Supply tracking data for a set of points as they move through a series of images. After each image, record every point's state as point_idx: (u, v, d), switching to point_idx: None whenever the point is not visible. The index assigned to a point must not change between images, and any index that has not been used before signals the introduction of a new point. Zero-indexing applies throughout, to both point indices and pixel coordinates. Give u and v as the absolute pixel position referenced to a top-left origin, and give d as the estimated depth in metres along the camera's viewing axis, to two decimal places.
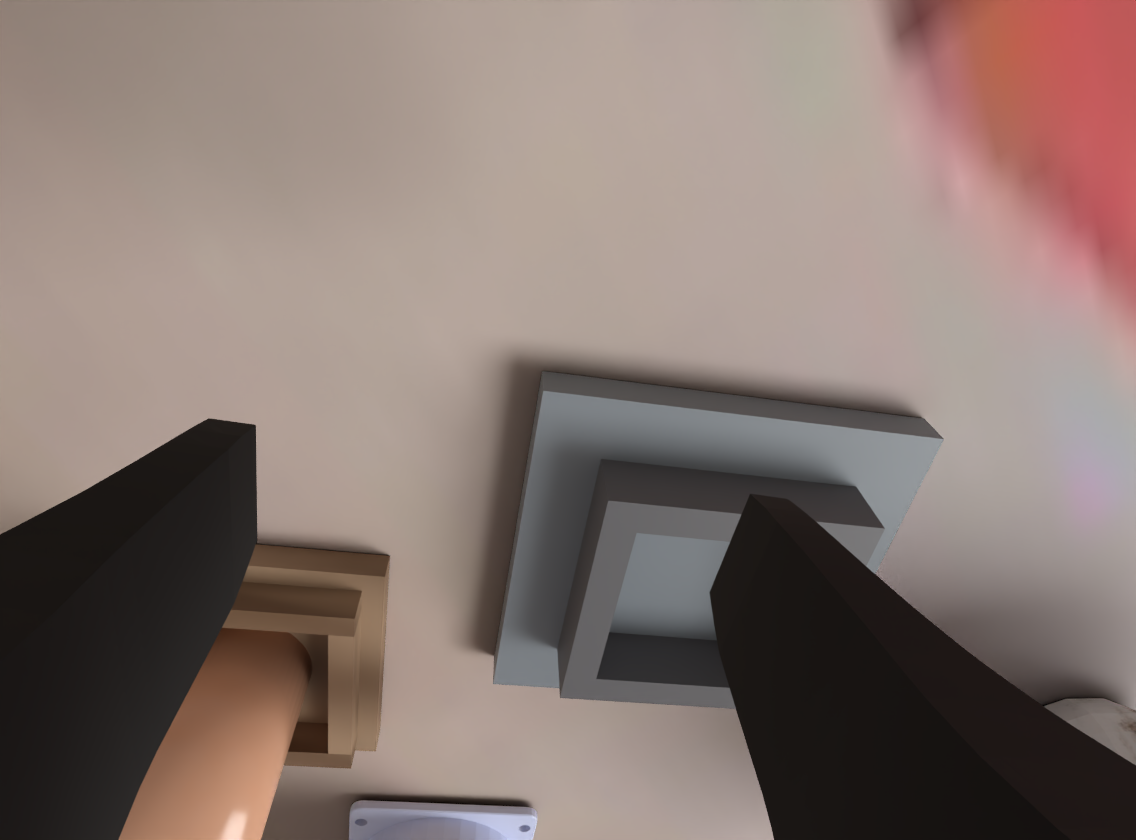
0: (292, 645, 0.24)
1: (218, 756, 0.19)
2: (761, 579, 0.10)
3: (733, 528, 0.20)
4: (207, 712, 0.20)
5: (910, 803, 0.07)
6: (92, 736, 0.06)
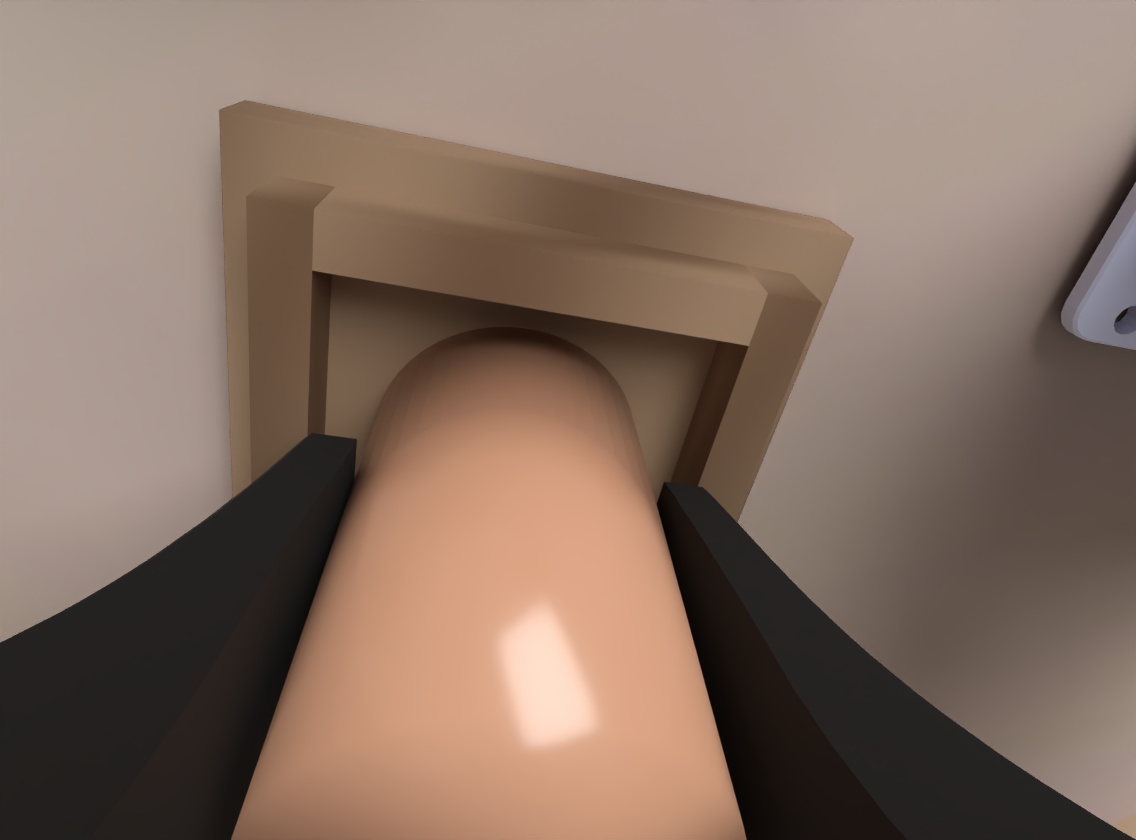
0: (431, 354, 0.11)
1: (318, 599, 0.07)
2: None
3: None
4: None
5: (775, 794, 0.06)
6: (244, 747, 0.07)
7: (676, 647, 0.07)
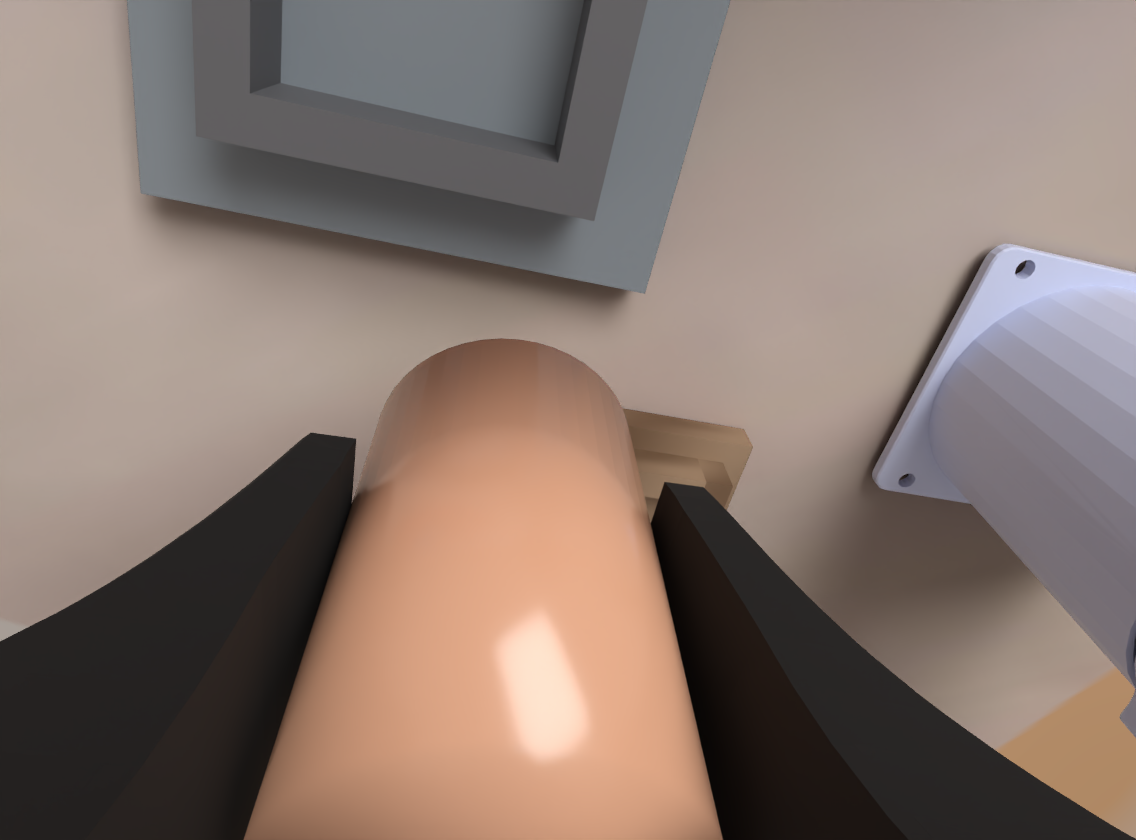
0: (424, 370, 0.11)
1: (316, 622, 0.08)
2: (669, 568, 0.10)
3: None
4: None
5: (776, 793, 0.06)
6: (243, 747, 0.07)
7: (654, 660, 0.07)
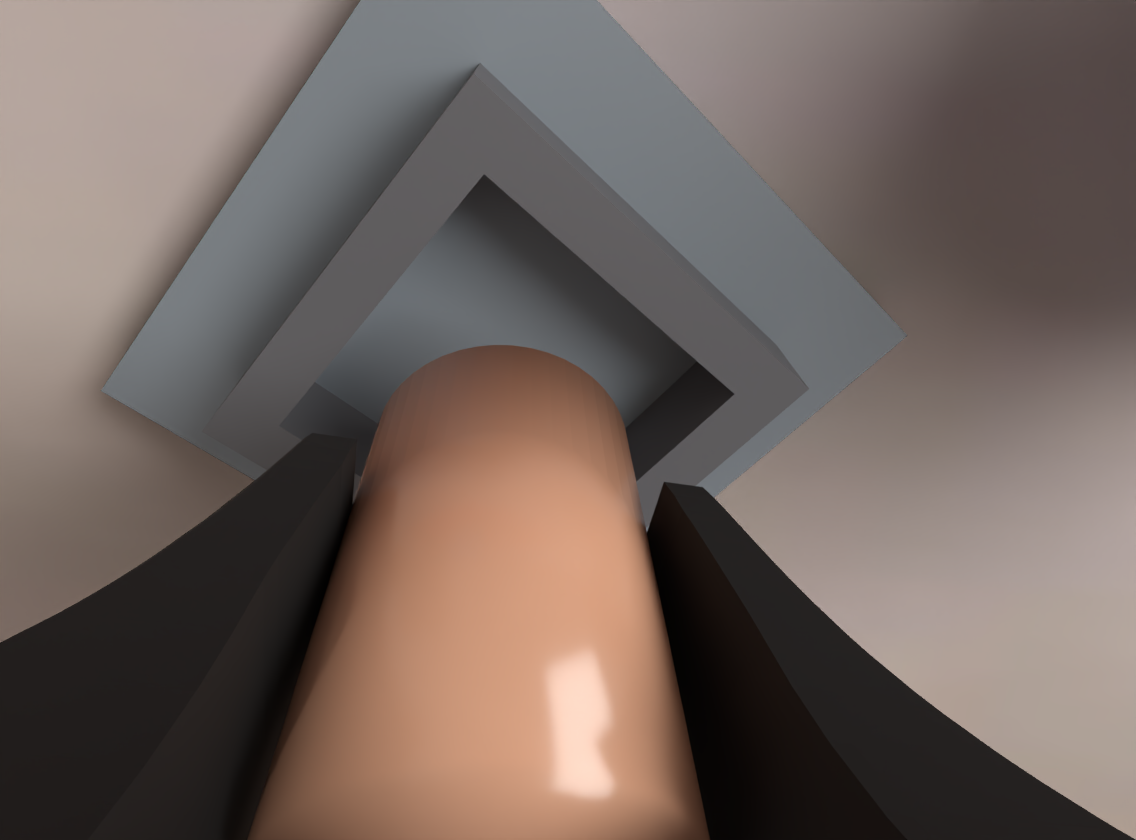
0: (420, 378, 0.11)
1: (313, 637, 0.08)
2: (669, 568, 0.10)
3: (337, 307, 0.12)
4: None
5: (776, 794, 0.06)
6: (244, 747, 0.07)
7: (643, 673, 0.07)
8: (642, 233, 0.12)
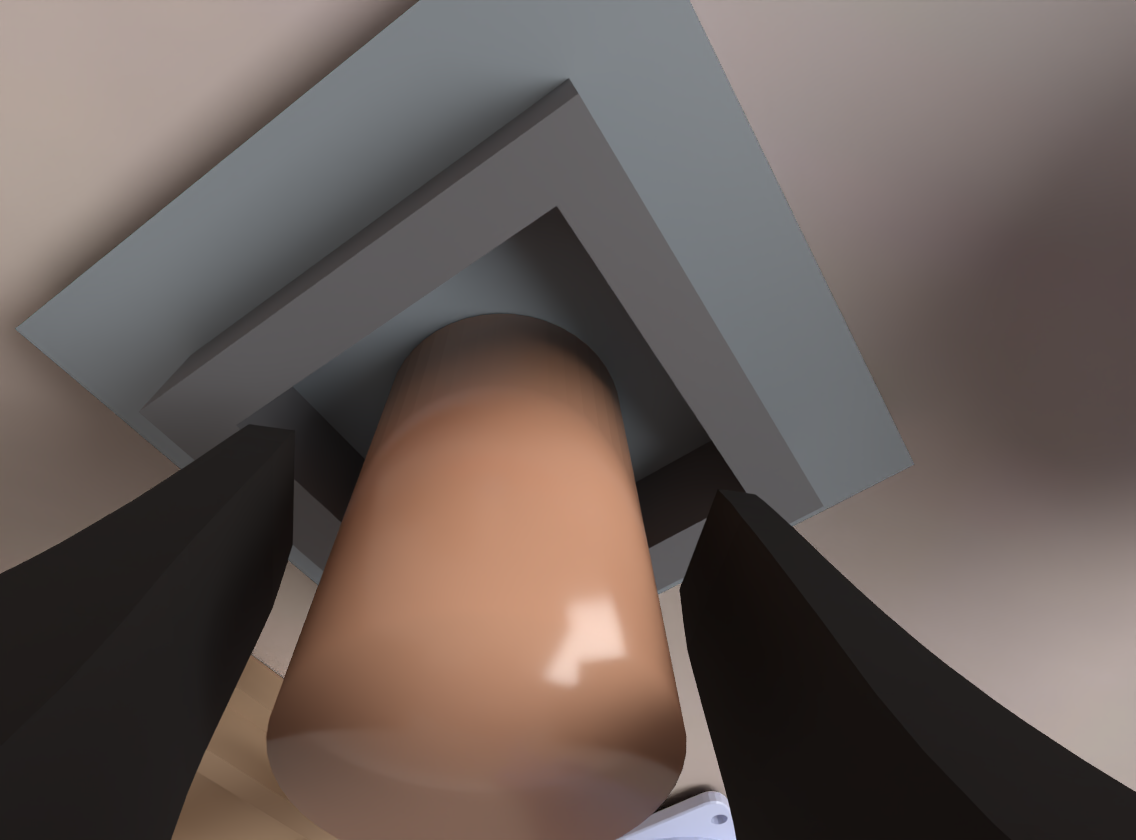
0: (430, 343, 0.12)
1: (333, 546, 0.09)
2: (727, 575, 0.10)
3: (344, 309, 0.10)
4: None
5: (860, 799, 0.06)
6: (151, 741, 0.07)
7: (622, 567, 0.08)
8: (706, 311, 0.11)
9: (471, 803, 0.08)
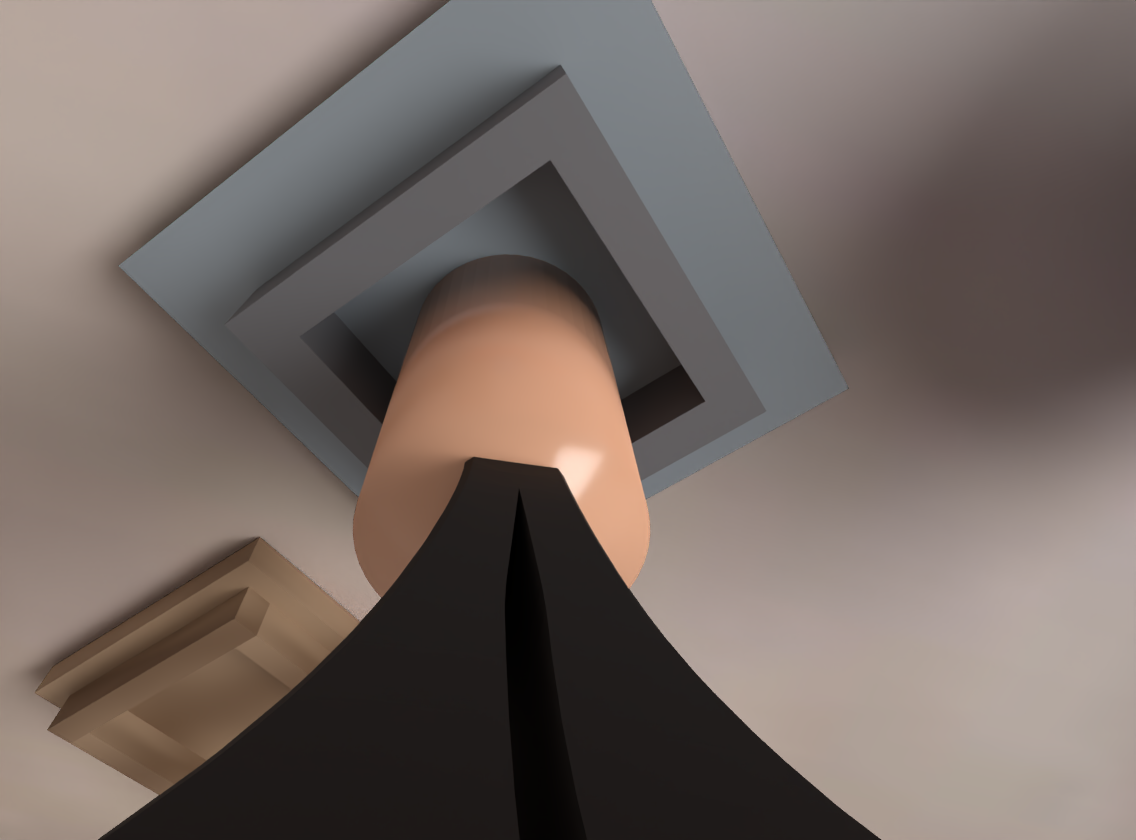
0: (449, 277, 0.15)
1: (388, 408, 0.12)
2: None
3: (387, 242, 0.13)
4: None
5: (536, 777, 0.06)
6: None
7: (604, 407, 0.11)
8: (667, 245, 0.14)
9: None
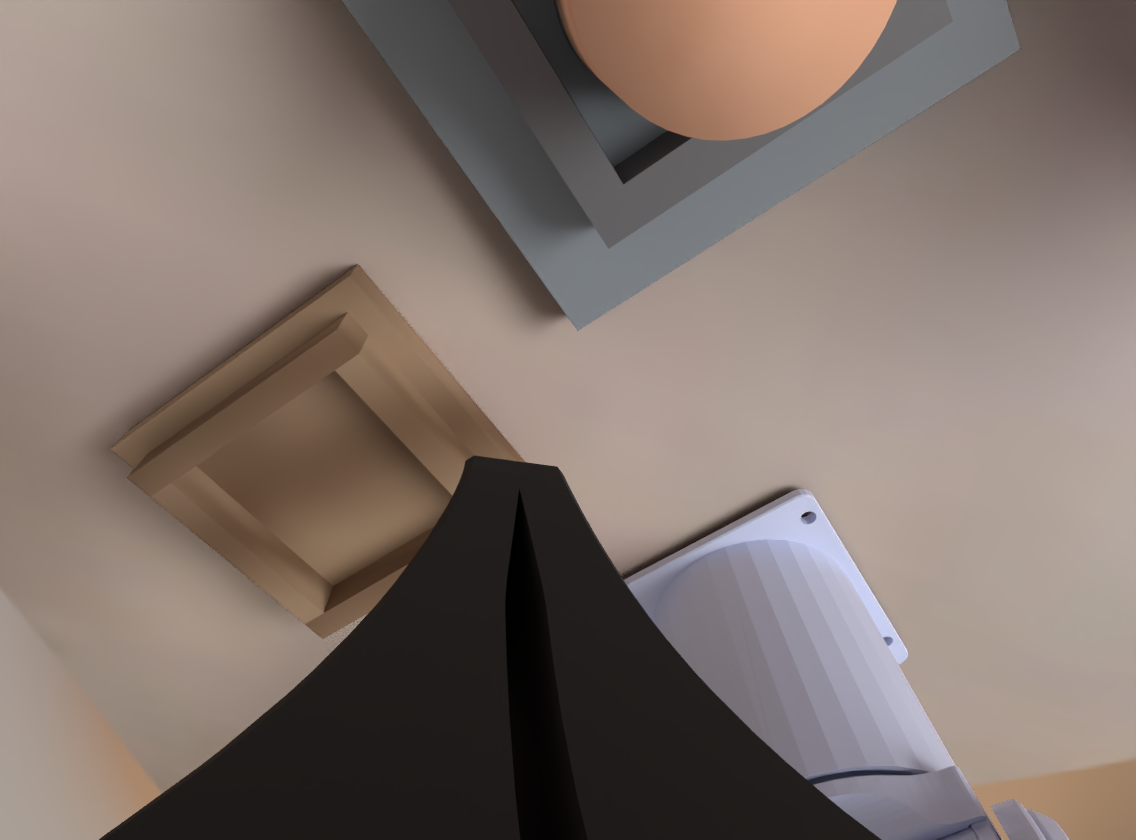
0: None
1: None
2: None
3: None
4: None
5: (537, 777, 0.06)
6: None
7: None
8: None
9: (722, 24, 0.09)
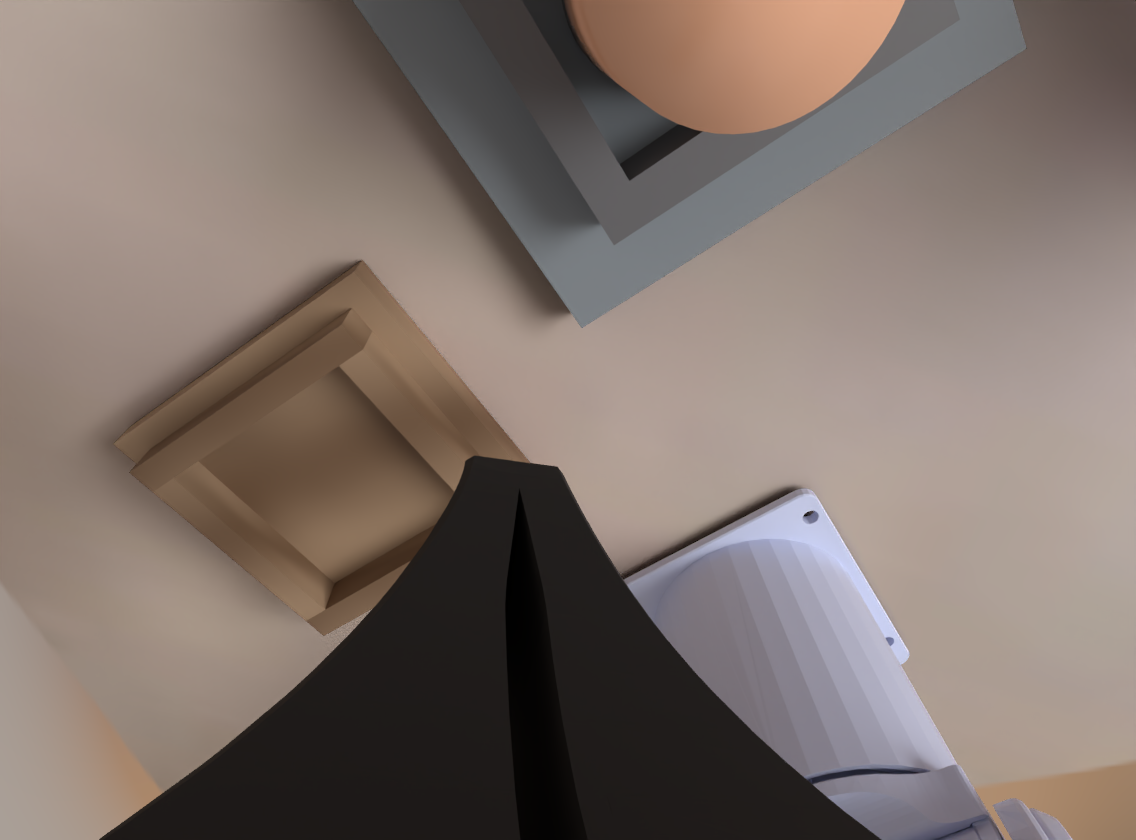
0: None
1: None
2: None
3: None
4: None
5: (537, 777, 0.06)
6: None
7: None
8: None
9: (733, 17, 0.09)
